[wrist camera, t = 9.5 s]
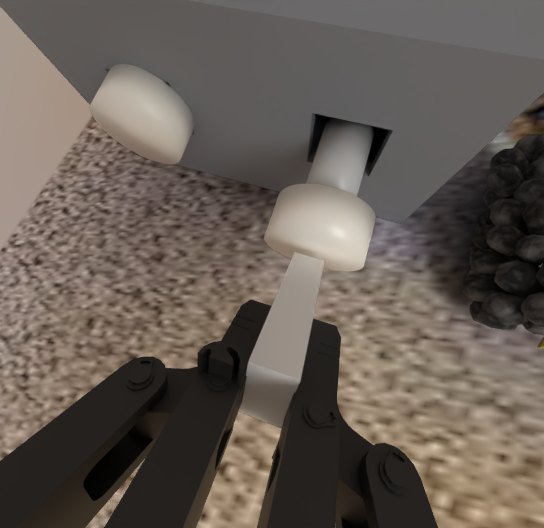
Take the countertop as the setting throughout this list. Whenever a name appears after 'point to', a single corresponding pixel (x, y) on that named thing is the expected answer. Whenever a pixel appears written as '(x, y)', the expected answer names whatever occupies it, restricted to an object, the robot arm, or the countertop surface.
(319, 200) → the knob
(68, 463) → the robot arm
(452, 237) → the countertop surface
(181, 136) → the knob
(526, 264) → the fruit
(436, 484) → the countertop surface
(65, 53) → the block
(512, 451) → the countertop surface
